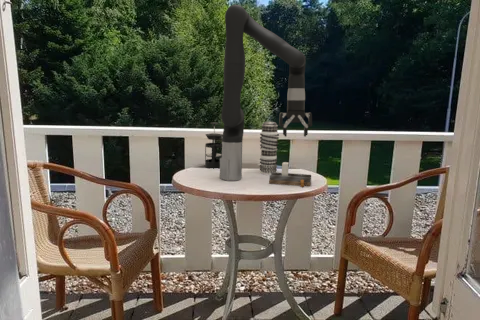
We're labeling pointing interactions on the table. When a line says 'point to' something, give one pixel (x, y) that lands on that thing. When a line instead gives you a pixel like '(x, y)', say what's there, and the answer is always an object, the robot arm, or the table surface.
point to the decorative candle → (268, 148)
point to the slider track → (290, 179)
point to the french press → (213, 150)
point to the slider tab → (285, 169)
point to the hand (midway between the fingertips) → (295, 136)
